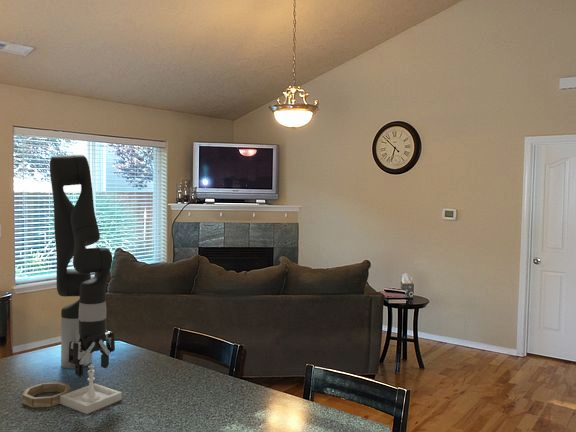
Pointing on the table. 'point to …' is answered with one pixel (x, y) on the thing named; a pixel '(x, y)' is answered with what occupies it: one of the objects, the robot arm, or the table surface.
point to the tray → (77, 403)
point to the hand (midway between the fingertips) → (92, 371)
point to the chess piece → (91, 387)
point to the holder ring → (44, 401)
